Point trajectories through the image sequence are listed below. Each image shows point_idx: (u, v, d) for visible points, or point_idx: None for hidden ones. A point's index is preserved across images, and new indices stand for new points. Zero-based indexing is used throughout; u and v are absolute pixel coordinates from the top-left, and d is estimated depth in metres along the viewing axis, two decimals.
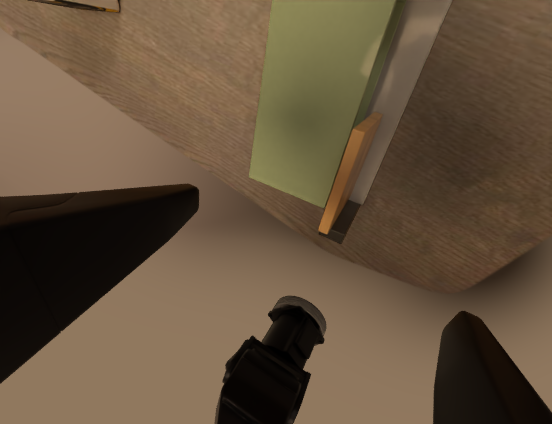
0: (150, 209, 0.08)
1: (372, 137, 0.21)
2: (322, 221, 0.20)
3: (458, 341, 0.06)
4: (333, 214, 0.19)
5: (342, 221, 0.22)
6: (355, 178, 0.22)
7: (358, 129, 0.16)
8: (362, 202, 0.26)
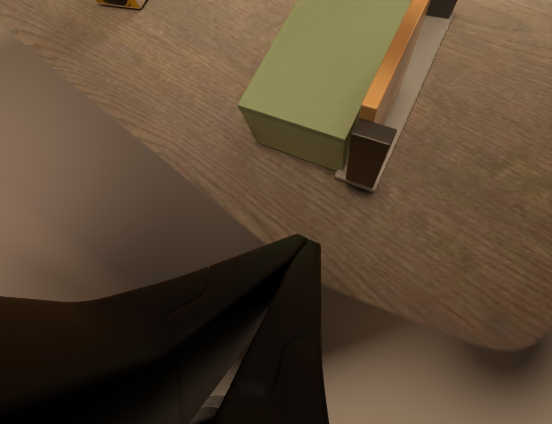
0: (277, 276, 0.07)
1: (396, 92, 0.19)
2: (371, 88, 0.12)
3: None
4: (390, 76, 0.12)
5: None
6: (380, 124, 0.18)
7: None
8: (374, 187, 0.19)
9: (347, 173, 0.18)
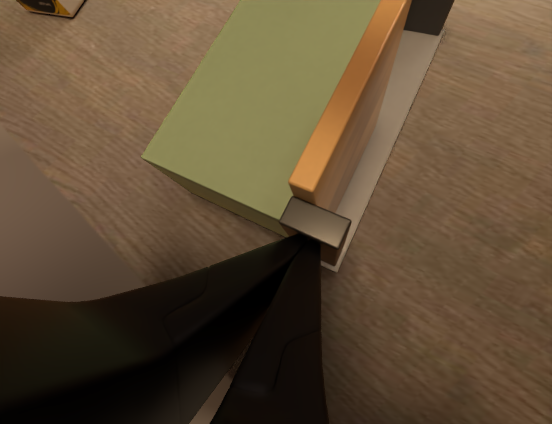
0: (277, 276, 0.07)
1: (370, 130, 0.14)
2: (305, 153, 0.07)
3: None
4: (338, 132, 0.07)
5: None
6: (345, 178, 0.12)
7: None
8: (336, 266, 0.14)
9: None
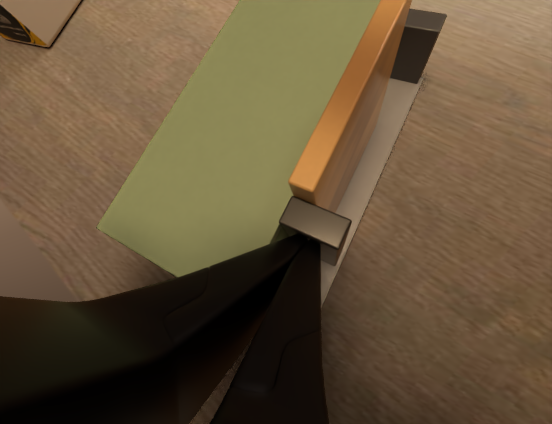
0: (277, 276, 0.07)
1: (370, 130, 0.14)
2: (305, 153, 0.07)
3: None
4: (339, 132, 0.07)
5: None
6: (345, 178, 0.12)
7: None
8: None
9: None
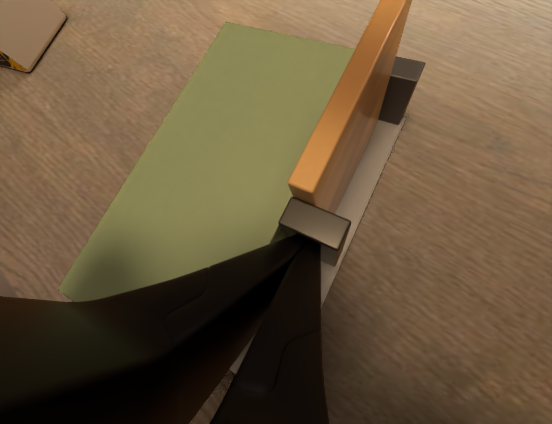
0: (277, 277, 0.07)
1: (370, 130, 0.14)
2: (305, 154, 0.07)
3: None
4: (338, 133, 0.07)
5: None
6: (345, 178, 0.12)
7: None
8: None
9: None
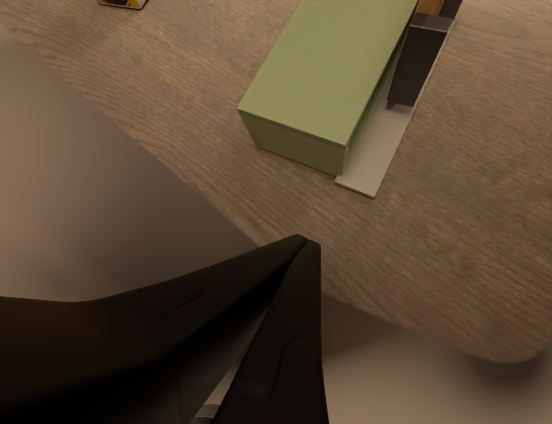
0: (277, 276, 0.07)
1: None
2: None
3: None
4: None
5: None
6: None
7: None
8: (374, 193, 0.19)
9: (390, 90, 0.19)
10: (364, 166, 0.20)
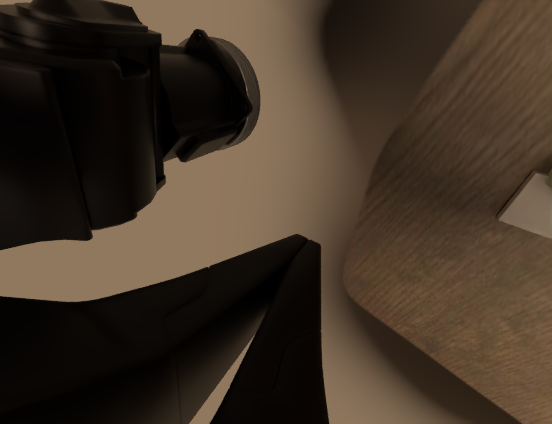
0: (277, 277, 0.07)
1: None
2: None
3: None
4: None
5: None
6: None
7: None
8: (504, 220, 0.15)
9: None
10: None
